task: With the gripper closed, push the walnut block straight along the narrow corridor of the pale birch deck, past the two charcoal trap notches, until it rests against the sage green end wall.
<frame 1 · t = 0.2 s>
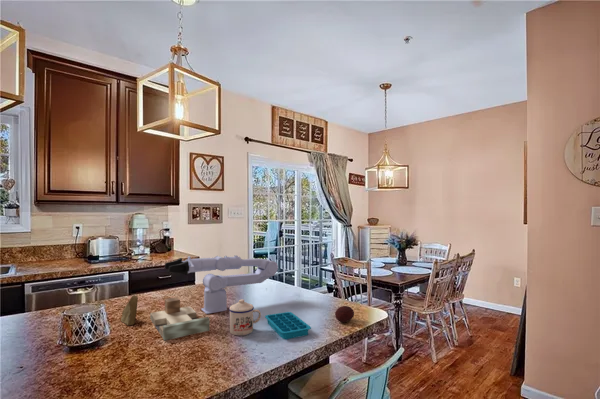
hand: (167, 267, 134), 21 cm above the kitchen island, tool horizontal, fingers open, 7 cm apart
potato: (344, 321, 130), on the kitchen island
ice cube tray: (286, 329, 123), on the kitchen island
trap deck: (178, 324, 127), on the kitchen island
teacup with lid: (245, 331, 120), on the kitchen island
block: (172, 311, 135), point 2 cm above the kitchen island, touching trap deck
rock: (127, 322, 130), on the kitchen island
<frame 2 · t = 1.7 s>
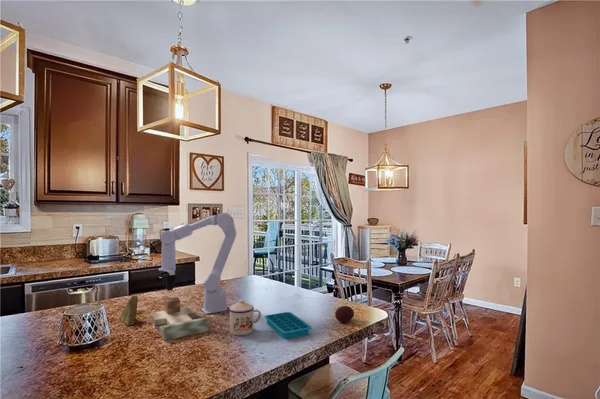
hand: (168, 288, 141), 10 cm above the kitchen island, tool pointing down, fingers open, 6 cm apart
nothing on the kitchen island moved.
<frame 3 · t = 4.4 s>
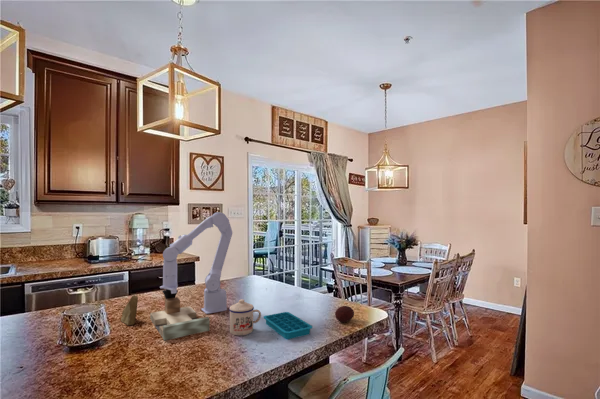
hand: (169, 306, 138), 3 cm above the kitchen island, tool pointing down, fingers closed
block: (172, 311, 135), point 3 cm above the kitchen island, touching gripper, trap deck
everything else where it was.
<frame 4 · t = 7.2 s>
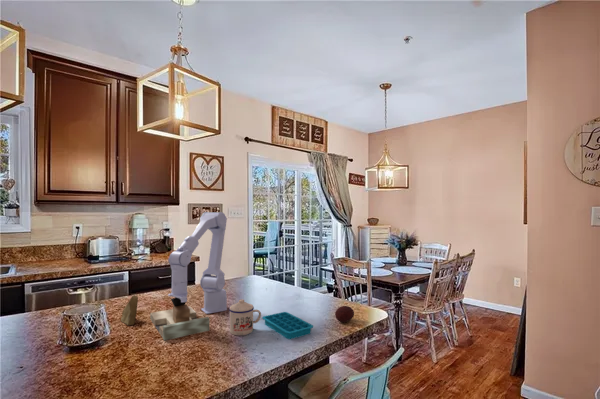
hand: (179, 316, 126), 4 cm above the kitchen island, tool pointing down, fingers closed, pressing on block
block: (181, 320, 123), point 3 cm above the kitchen island, tilted 5°, touching gripper, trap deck
everything else where it was.
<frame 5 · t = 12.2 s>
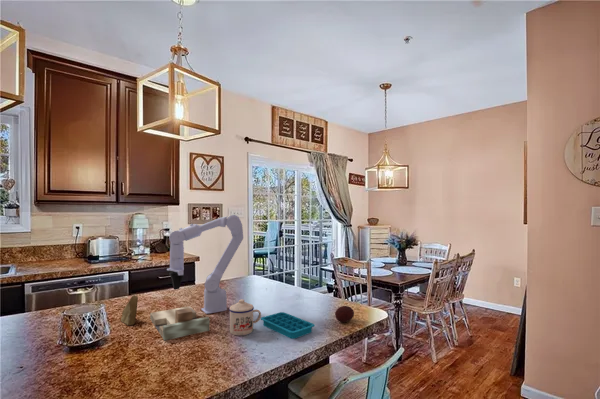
hand: (176, 288, 141), 10 cm above the kitchen island, tool pointing down, fingers closed
block: (183, 324, 120), point 2 cm above the kitchen island, touching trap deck
at the end: block 0.4 cm from the target spot on the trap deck, point 2.5 cm above the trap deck's base; block tilted 0° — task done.
